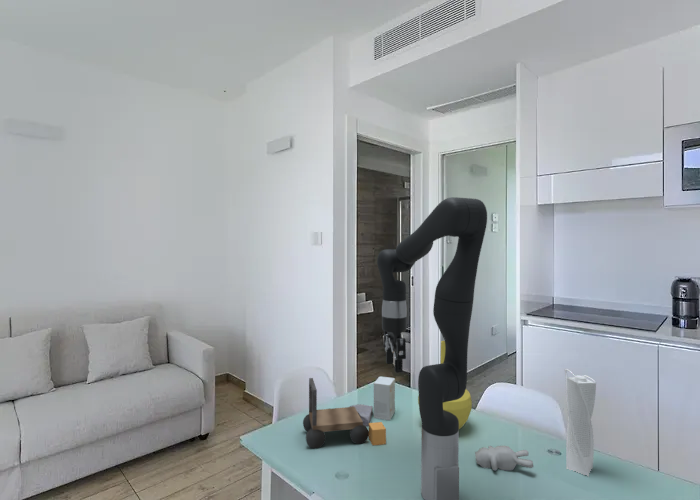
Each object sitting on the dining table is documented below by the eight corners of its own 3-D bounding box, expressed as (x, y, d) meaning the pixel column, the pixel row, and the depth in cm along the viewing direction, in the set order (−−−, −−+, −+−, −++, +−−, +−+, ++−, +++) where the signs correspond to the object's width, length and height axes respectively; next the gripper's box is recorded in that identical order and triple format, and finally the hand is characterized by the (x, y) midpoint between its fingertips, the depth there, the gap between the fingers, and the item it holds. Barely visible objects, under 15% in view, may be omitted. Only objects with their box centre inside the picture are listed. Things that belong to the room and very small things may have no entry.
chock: (385, 444, 125) (385, 428, 125) (372, 445, 124) (372, 430, 124) (381, 436, 130) (381, 421, 130) (368, 438, 129) (368, 423, 129)
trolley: (360, 426, 138) (360, 374, 137) (368, 443, 126) (369, 386, 126) (302, 431, 133) (303, 378, 133) (306, 449, 122) (306, 391, 121)
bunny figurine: (473, 441, 119) (526, 441, 116) (475, 458, 119) (528, 458, 116) (476, 458, 110) (533, 458, 107) (478, 476, 110) (535, 477, 107)
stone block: (343, 430, 138) (371, 427, 137) (341, 417, 138) (368, 413, 137) (349, 417, 150) (374, 413, 148) (346, 404, 150) (372, 401, 149)
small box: (379, 409, 152) (379, 375, 151) (395, 411, 149) (395, 377, 149) (373, 418, 144) (373, 382, 144) (389, 420, 142) (390, 385, 142)
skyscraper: (559, 469, 112) (561, 371, 111) (566, 458, 117) (567, 365, 117) (592, 480, 106) (593, 377, 106) (597, 468, 112) (598, 370, 112)
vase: (440, 410, 150) (441, 333, 150) (482, 428, 136) (483, 343, 136) (407, 424, 139) (407, 340, 139) (448, 444, 125) (449, 351, 124)
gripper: (414, 318, 113) (414, 374, 114) (398, 310, 127) (398, 360, 128) (389, 319, 112) (389, 376, 112) (376, 311, 126) (375, 361, 126)
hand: (393, 367), depth 120 cm, fingers open, 8 cm apart
